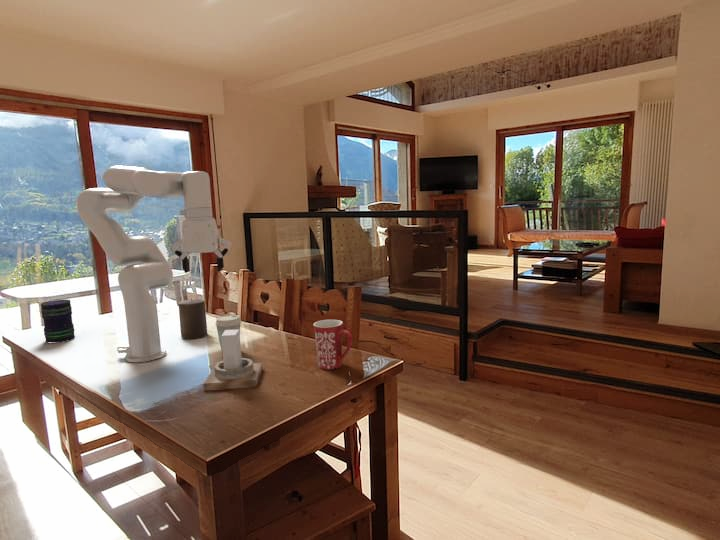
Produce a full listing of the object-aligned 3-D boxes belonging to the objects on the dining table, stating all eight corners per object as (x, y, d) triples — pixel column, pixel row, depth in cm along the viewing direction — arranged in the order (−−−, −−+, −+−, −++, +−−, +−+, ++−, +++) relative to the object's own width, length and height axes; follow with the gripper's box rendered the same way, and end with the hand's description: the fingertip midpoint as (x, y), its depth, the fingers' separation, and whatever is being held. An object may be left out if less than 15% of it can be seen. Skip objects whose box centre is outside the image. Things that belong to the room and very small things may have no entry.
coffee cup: (236, 356, 151) (233, 321, 149) (212, 355, 152) (210, 320, 151) (247, 348, 159) (245, 314, 157) (225, 347, 161) (222, 314, 159)
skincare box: (227, 369, 133) (224, 329, 131) (242, 368, 134) (239, 328, 132) (223, 376, 127) (220, 335, 125) (239, 375, 128) (236, 334, 126)
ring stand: (204, 390, 123) (202, 374, 122) (215, 371, 137) (214, 357, 136) (256, 387, 124) (255, 371, 124) (262, 368, 138) (261, 354, 137)
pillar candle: (202, 339, 172) (199, 300, 170) (176, 339, 172) (173, 300, 170) (211, 332, 181) (208, 295, 179) (187, 332, 182) (184, 295, 180)
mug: (309, 367, 138) (307, 324, 136) (327, 358, 145) (325, 317, 143) (342, 375, 131) (341, 330, 129) (360, 365, 138) (358, 322, 136)
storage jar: (56, 344, 171) (51, 305, 169) (39, 342, 175) (33, 304, 172) (81, 336, 180) (76, 300, 178) (64, 334, 184) (59, 298, 182)
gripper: (164, 215, 129) (170, 274, 132) (226, 213, 131) (230, 271, 133) (172, 214, 137) (177, 270, 139) (231, 212, 138) (235, 268, 141)
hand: (203, 271), depth 136 cm, fingers open, 9 cm apart
